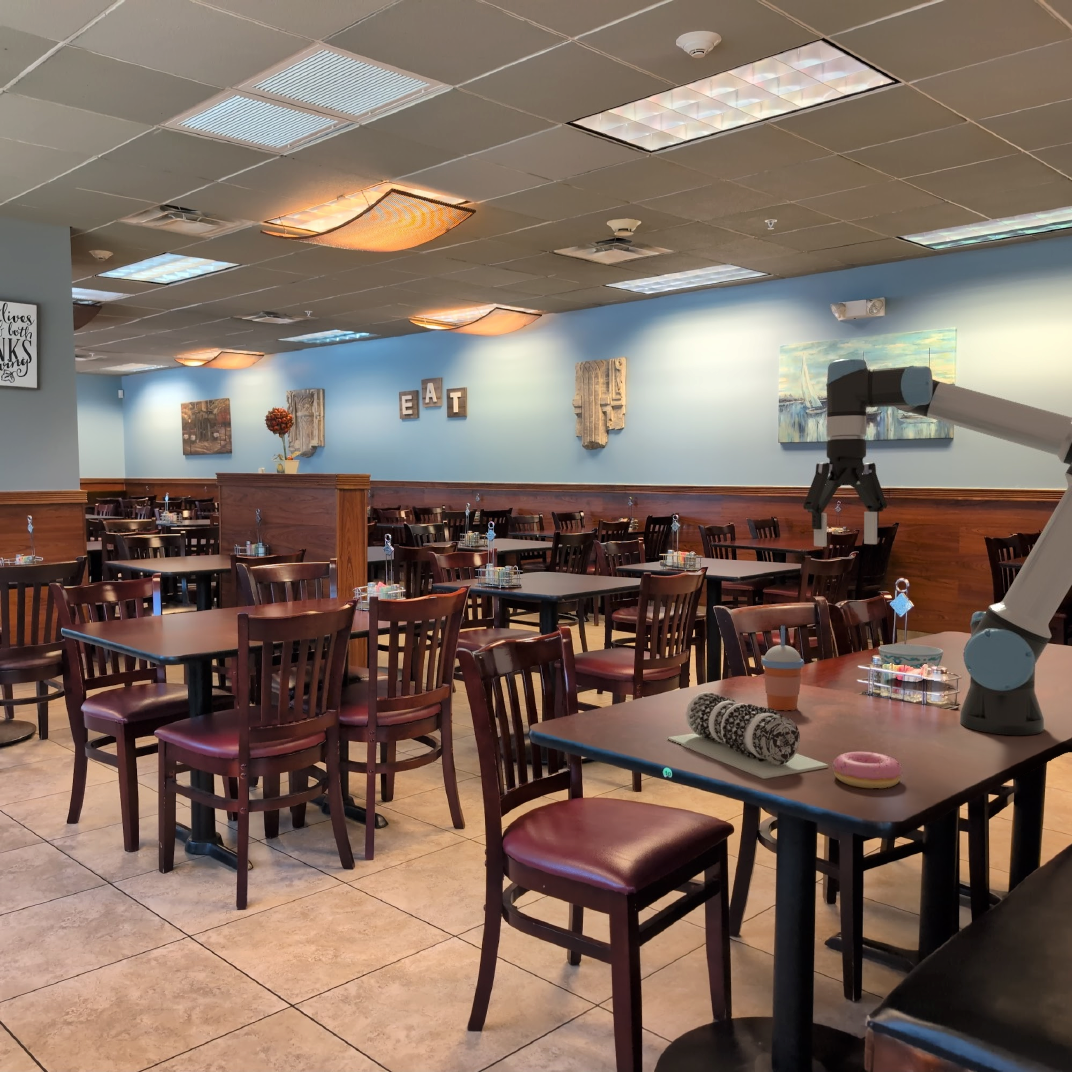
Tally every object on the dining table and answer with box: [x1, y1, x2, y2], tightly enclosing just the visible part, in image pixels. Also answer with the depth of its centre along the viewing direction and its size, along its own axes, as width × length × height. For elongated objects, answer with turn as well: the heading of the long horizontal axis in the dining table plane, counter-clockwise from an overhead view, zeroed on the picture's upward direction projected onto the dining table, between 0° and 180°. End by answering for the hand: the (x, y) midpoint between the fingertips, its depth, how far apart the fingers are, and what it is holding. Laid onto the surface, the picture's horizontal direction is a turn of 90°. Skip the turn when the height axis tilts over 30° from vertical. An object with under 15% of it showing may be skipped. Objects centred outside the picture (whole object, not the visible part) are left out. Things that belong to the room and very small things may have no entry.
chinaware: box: [877, 643, 944, 668], centre depth 242 cm, size 15×15×8 cm
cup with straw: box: [760, 625, 805, 712], centre depth 212 cm, size 9×9×18 cm
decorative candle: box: [685, 691, 801, 765], centre depth 175 cm, size 9×9×25 cm
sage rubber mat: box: [667, 732, 829, 779], centre depth 176 cm, size 28×14×1 cm, turn 27°
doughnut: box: [831, 750, 904, 789], centre depth 160 cm, size 11×11×4 cm
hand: (845, 545), depth 194 cm, fingers open, 13 cm apart
